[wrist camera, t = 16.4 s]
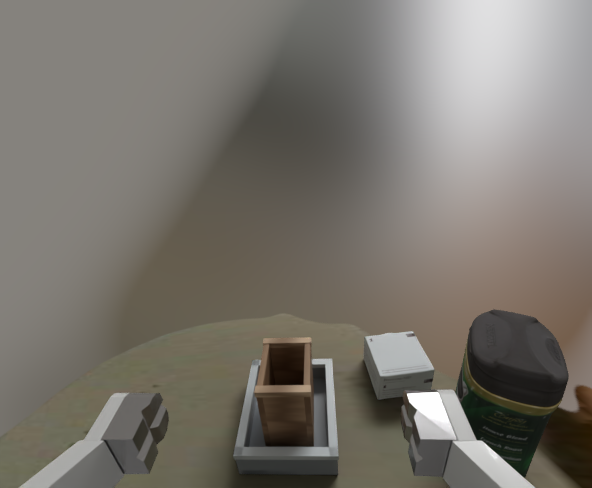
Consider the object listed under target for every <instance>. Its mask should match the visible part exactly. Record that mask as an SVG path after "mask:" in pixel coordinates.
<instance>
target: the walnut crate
mask: <svg viewBox="0 0 592 488" xmlns="http://www.w3.org/2000/svg"><path fill="white" fill-rule="evenodd" d="M254 394H255V397H256V399H257V404H258V409H259V414H260V419H261V424H262V430H263V435H264V440H265V445H266V446H314V385H313V370H312V355H311V337H306V338H264V341H263V352H262V358H261V363H260V369H259V374H258V380H257V386H255V391H254Z"/></svg>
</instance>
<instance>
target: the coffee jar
mask: <svg viewBox="0 0 592 488" xmlns="http://www.w3.org/2000/svg"><path fill="white" fill-rule="evenodd" d="M567 381H568V371H567V367H566V363H565V359H564V356H563V354H562V351H561V349H560V346H559V344H558V342H557V340H556V338H555V337H554V335H553V334H552V333H551V332H550V331H549V330H548V329H547V328H546V327H545V326H544V325H542V324H541V323H540V322H538V320H537V319H536V318H534V317H530V316H526V315H521V314H516V313H512V312H507V311H501V310H491V311H489V312H486V313H483V314H481V315H479V316H478V317H477V318H476V319H475V320H474V321H473V323H472V326H471V327H470V329H469V335H468V339H467V344H466V349H465V354H464V359H463V363H462V367H461V371H460V376H459V379H458V383H457V387H456V391H455V393H456V395H457V397H458V400H459V402H460V404H461V406H462V409H463V411H464V413H465V415H466V417H467V420H468V422H469V424H470V426H471V429H472V431H473V433H474V435H475V437H476V440H479V441H483V442H484V443H485V444H486V445H487V446H489V447H490V448H491V449H492V450H493V451H494V452H495V453H497V454H498V455H499V456H500V457H501V458H502V459H503V460H504V461H506V462H507V463H508V464H509V465H510V466H511V467H512V468H513V469H515V470H516V471H517V472H518V473H519V474H520V475H521V476H522V477H524V478H525V476H526V473H527V471H528V468H529V466H530V463H531V461H532V458H533V455H534V453H535V450H536V448H537V446H538V443H539V441H540V439H541V436H542V434H543V432H544V430H545V427H546V425H547V423H548V420H549V418H550V416H551V414H552V413H553V411H554V410H555V409H556V408H557V407H558V406H559V404H560V403H561V401H562V397H563V394H564V391H565V388H566V385H567Z"/></svg>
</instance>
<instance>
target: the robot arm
mask: <svg viewBox="0 0 592 488" xmlns="http://www.w3.org/2000/svg"><path fill="white" fill-rule="evenodd" d="M162 401H163V399H162V397H161V395H160V393H115V394H113V395H112V396H111V397H110V398H109V400H108V402H107V403H106V405H105V406H104V408H103V410H102V411H101V413H100V415H99V416H98V418H97V419H96V421H95V423H94V424H93V426H92V428H91V429H90V431H89V432H88V434H87V436H86V437H85V439H84V440H80V441H78V442H77V443H75V444H74V445H73V446H72V447H70V448H69V449H68V450H67V451H65V452H64V453H63V454H61V455H60V456H59V457H58V458H56V459H55V460H54V461H52V462H51V463H50V464H49V465H47V466H46V467H45V468H44V469H42V470H41V471H40V472H38V473H37V474H36V475H35V476H33V477H32V478H31V479H29V480H28V481H27V482H26V483H24V484H23V485H22V486H21V487H19V488H113V487H114V486H115V485H116V484H117V483H118V482H119V481H120V480H121V479H122V478H123V476H124V475H123V474H150V471H151V469H152V466H153V464H154V461H155V459H156V456H157V454H158V449H157V444H158V443H159V442H160V441H161V440H162V439H164V436H165V434H166V431H167V427H168V421H169V417H168V412H167V409H166V408H165V407H164V406H162V405H161V403H162ZM403 401H404V405H403V406H402V407H401V423H402V429H403V433H404V438H405V439H406V440H407V441H408V442H409V443H410V444H409V451H408V454H409V457H410V461H411V465H412V469H413V473H414V476H440V477H443V479H444V480H445V481H446V483H447V484H448V485H449V486H450V488H535V487H534V486H533V485H532V484H530V483H529V482H528V481H527V480H526V479H525V478H524V477H522V476H521V475H520V474H519V473H518V472H517V471H516V470H515V469H513V468H512V467H511V466H510V465H509V464H508V463H507V462H506V461H504V460H503V459H502V458H501V457H500V456H499V455H498V454H497V453H495V452H494V451H493V450H492V449H491V448H490V447H489V446H487V445H486V444H485V443H484V442H483V441H479V440H476V437H475V435H474V433H473V431H472V429H471V426H470V424H469V422H468V420H467V417H466V415H465V413H464V411H463V409H462V406H461V404H460V402H459V400H458V397H457V395H456V393H455V392H454V391H453V390H435V389H434V390H404V392H403Z"/></svg>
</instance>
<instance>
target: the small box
mask: <svg viewBox="0 0 592 488" xmlns="http://www.w3.org/2000/svg"><path fill="white" fill-rule="evenodd" d="M364 361H365V364H366V367H367V370H368V373H369V376H370V379H371V382H372V385H373V388H374V391H375V394H376V397H377V399H378V400H381V399H387V398H394V397H403V392H404V390H431V386H432V381H433V375H434V368H433V366H432V364H431V362H430V361H429V359H428V357H427V356H426V354H425V352H424V350H423V349H422V347H421V345H420V343H419V342H418V340H417V338H416V336H415V334H414V332H413V331H412V332H403V333H386V334H383V335H376V336H366V337H364Z"/></svg>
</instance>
